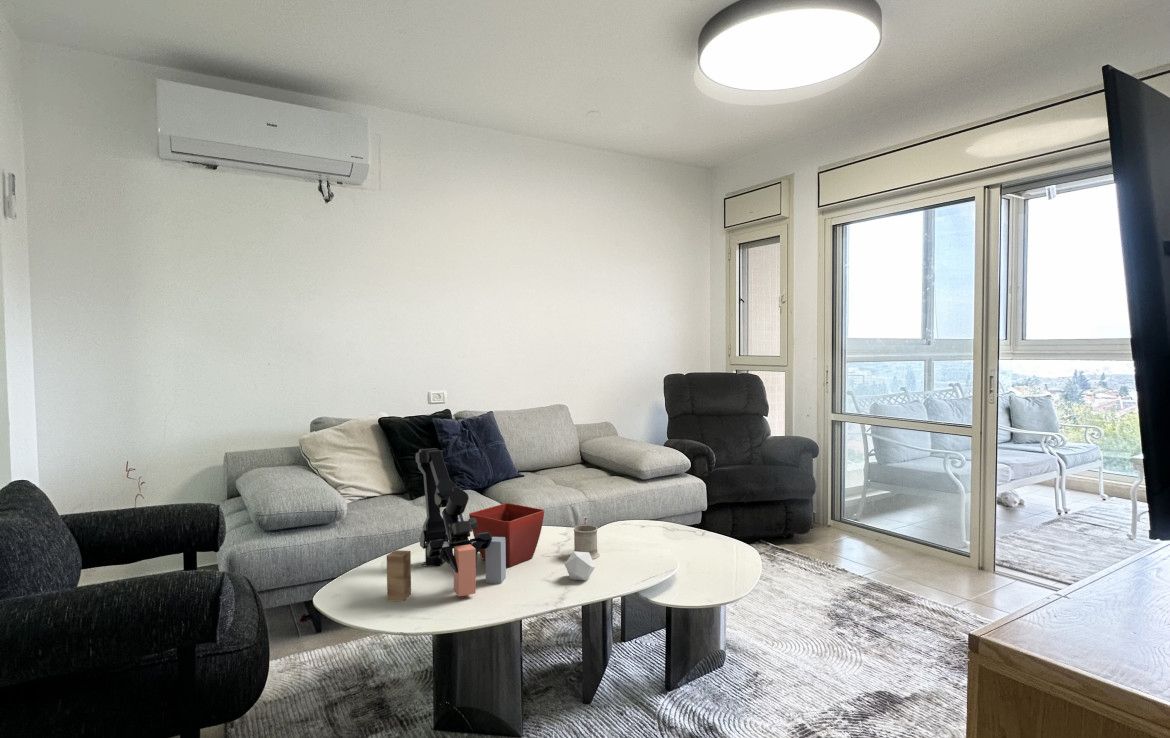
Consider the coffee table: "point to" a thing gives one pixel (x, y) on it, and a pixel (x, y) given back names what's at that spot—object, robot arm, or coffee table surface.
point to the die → (580, 566)
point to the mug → (586, 539)
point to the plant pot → (511, 529)
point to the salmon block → (465, 570)
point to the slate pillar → (496, 561)
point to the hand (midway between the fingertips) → (466, 570)
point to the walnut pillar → (398, 575)
